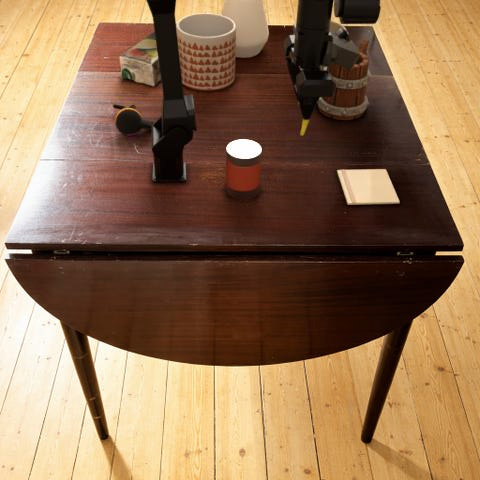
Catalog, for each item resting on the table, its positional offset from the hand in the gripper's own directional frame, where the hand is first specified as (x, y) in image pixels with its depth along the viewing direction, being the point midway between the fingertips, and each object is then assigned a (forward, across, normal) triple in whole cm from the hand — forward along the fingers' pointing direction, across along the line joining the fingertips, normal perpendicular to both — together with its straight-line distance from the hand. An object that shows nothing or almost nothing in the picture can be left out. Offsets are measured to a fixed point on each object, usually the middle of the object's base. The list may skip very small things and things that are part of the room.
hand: (303, 110), depth 113 cm
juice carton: (+13, +46, +28) cm, 55 cm away
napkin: (+13, -7, -13) cm, 20 cm away
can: (+13, -6, +12) cm, 18 cm away
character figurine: (+13, +18, +33) cm, 40 cm away
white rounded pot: (+13, +56, +5) cm, 57 cm away
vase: (+13, +40, +16) cm, 45 cm away
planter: (+13, +41, -11) cm, 45 cm away
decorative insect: (+3, +1, 0) cm, 4 cm away
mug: (+13, +25, -15) cm, 32 cm away
